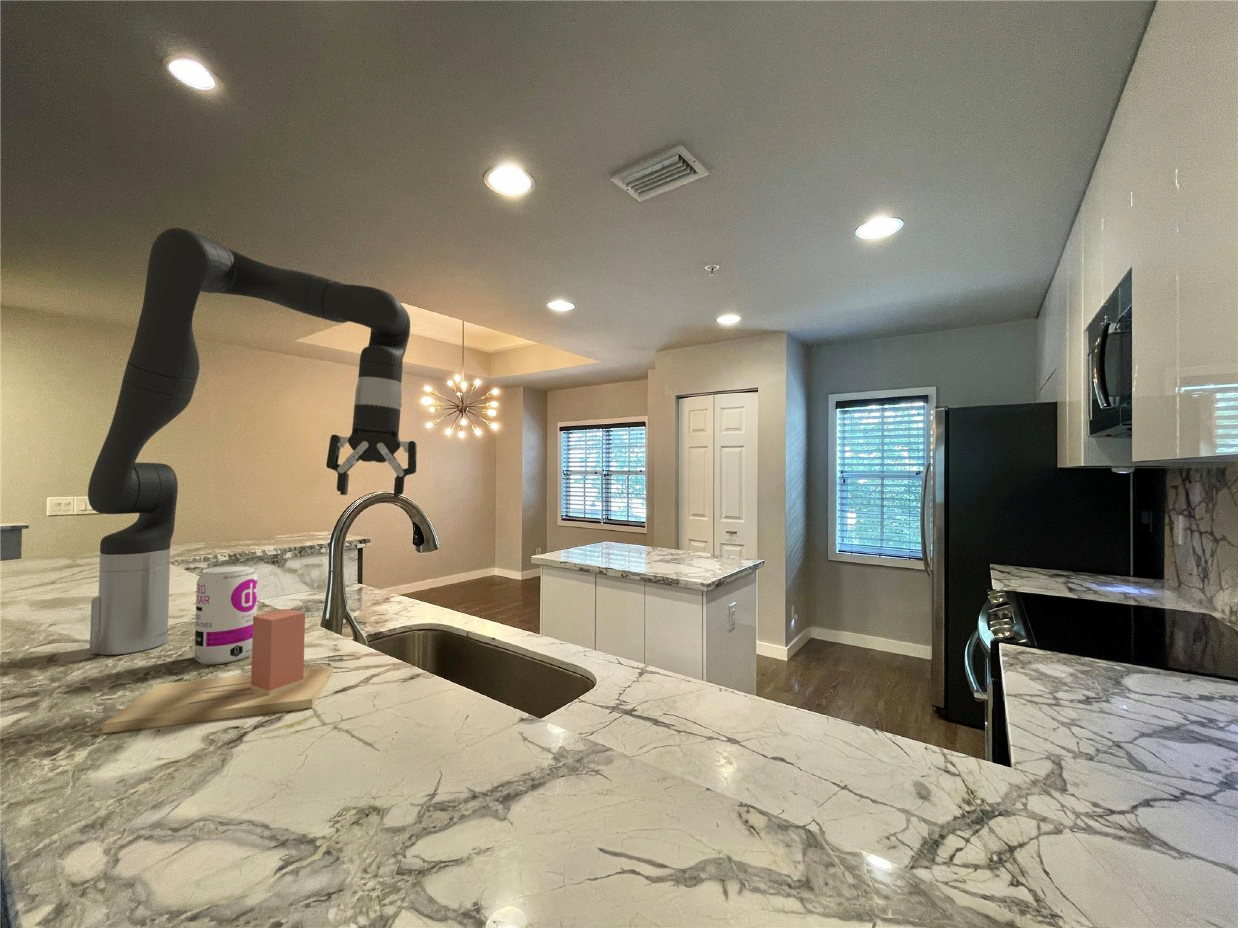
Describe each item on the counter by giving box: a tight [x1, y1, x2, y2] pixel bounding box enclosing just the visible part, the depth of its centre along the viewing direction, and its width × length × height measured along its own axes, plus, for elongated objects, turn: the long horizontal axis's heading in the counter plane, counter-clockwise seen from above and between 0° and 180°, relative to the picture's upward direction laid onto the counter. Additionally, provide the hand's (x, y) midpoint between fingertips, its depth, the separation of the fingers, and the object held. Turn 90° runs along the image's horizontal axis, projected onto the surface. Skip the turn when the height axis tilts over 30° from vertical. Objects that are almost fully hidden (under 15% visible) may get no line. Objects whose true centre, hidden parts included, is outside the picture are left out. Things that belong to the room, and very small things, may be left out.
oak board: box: [101, 666, 334, 734], centre depth 69 cm, size 22×12×1 cm, turn 108°
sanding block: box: [250, 608, 306, 695], centre depth 71 cm, size 5×5×10 cm
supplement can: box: [194, 564, 258, 666], centre depth 86 cm, size 8×8×15 cm
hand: (370, 496), depth 89 cm, fingers open, 8 cm apart
